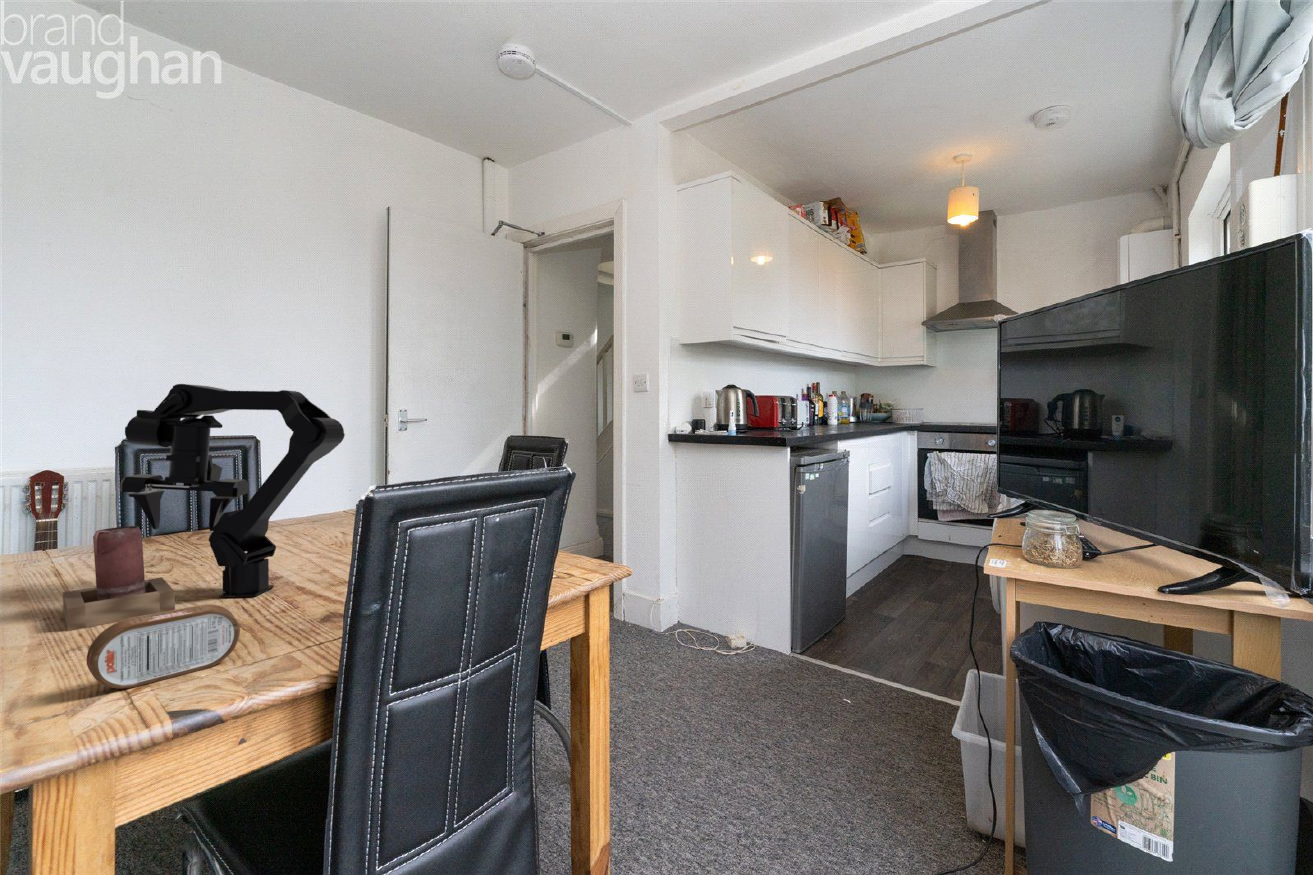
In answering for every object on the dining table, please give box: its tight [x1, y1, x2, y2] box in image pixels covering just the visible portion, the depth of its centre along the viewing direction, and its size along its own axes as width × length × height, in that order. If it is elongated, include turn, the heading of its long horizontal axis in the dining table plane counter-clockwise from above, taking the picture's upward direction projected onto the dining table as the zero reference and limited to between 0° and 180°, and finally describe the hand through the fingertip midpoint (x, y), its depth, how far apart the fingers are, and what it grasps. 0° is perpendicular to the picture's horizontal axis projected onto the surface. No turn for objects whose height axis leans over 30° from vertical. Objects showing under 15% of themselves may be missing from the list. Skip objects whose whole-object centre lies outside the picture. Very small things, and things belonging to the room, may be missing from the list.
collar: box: [62, 577, 176, 632], centre depth 98 cm, size 13×13×4 cm
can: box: [92, 525, 146, 601], centre depth 98 cm, size 6×6×14 cm
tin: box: [86, 604, 241, 690], centre depth 73 cm, size 15×3×8 cm, turn 140°
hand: (184, 529), depth 109 cm, fingers open, 9 cm apart
